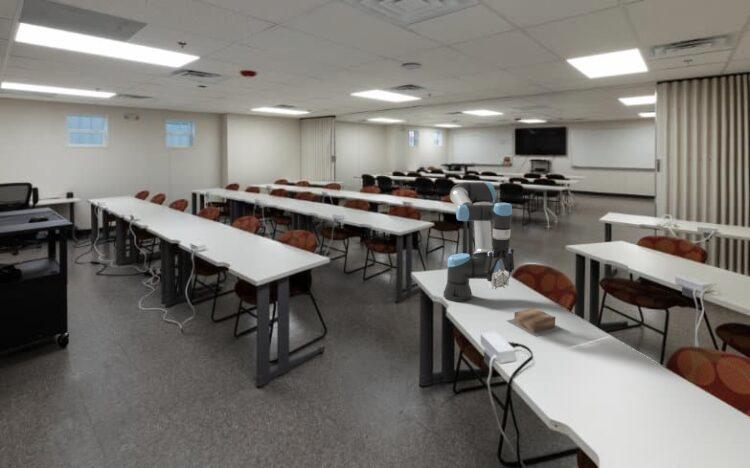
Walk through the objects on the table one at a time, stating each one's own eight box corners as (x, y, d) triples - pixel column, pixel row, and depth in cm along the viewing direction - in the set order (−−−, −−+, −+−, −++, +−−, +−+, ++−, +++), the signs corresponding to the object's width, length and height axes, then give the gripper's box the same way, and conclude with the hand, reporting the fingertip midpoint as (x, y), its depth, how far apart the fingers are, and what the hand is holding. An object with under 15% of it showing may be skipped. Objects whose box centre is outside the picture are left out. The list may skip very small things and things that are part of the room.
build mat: (505, 321, 181) (505, 320, 181) (531, 315, 188) (531, 314, 188) (536, 337, 165) (536, 336, 165) (563, 330, 172) (563, 329, 172)
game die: (501, 296, 179) (512, 283, 172) (483, 289, 180) (493, 275, 173) (502, 282, 186) (513, 269, 179) (485, 275, 186) (495, 262, 179)
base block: (514, 322, 179) (514, 312, 178) (533, 317, 184) (534, 307, 183) (534, 333, 169) (535, 322, 168) (554, 327, 173) (555, 317, 172)
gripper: (488, 241, 167) (485, 292, 172) (525, 237, 176) (521, 285, 181) (476, 238, 174) (474, 287, 179) (513, 234, 182) (509, 280, 187)
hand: (498, 286), depth 180 cm, fingers closed on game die, 8 cm apart
